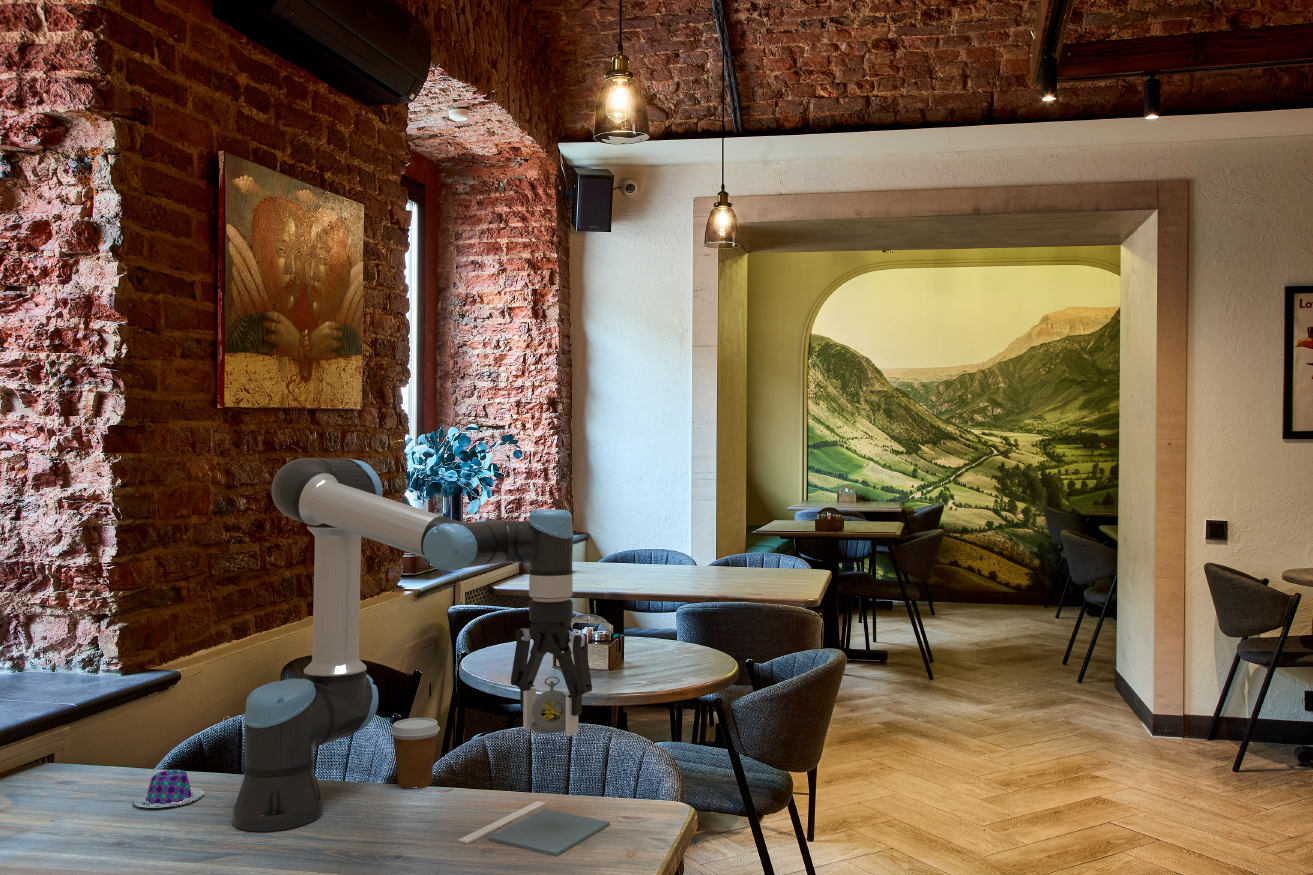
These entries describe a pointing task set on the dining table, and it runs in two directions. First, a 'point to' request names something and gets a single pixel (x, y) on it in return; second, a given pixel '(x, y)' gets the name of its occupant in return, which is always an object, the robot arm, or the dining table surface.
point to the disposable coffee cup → (415, 751)
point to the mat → (549, 831)
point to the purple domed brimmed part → (169, 787)
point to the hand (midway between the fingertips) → (550, 730)
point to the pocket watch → (549, 710)
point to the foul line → (500, 823)
